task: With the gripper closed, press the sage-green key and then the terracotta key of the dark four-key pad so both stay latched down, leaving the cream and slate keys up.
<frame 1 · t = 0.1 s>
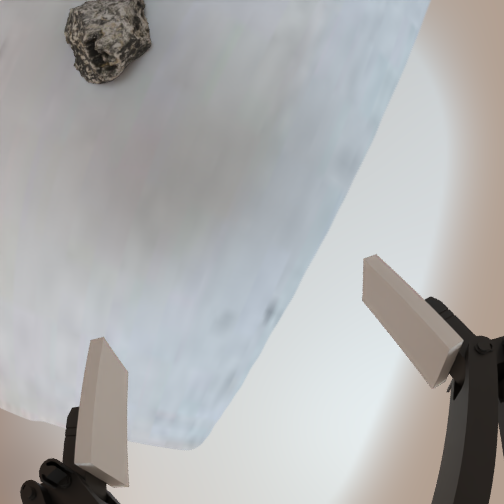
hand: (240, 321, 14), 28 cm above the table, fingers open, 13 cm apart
rock: (112, 35, 27), on the table
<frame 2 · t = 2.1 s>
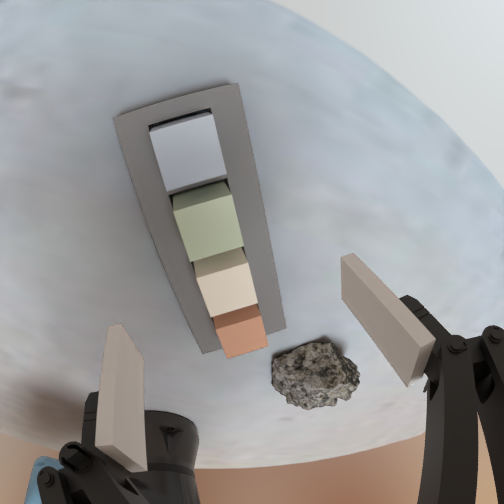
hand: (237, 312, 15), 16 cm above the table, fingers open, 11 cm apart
keypad: (210, 229, 30), on the table
key slate: (187, 148, 22), point 4 cm above the table, slide at 0.0 cm
key sage: (207, 219, 25), point 4 cm above the table, slide at 0.0 cm
rock: (305, 360, 44), on the table
key cream: (224, 278, 28), point 4 cm above the table, slide at 0.0 cm
key terracotta: (239, 325, 31), point 4 cm above the table, slide at 0.0 cm
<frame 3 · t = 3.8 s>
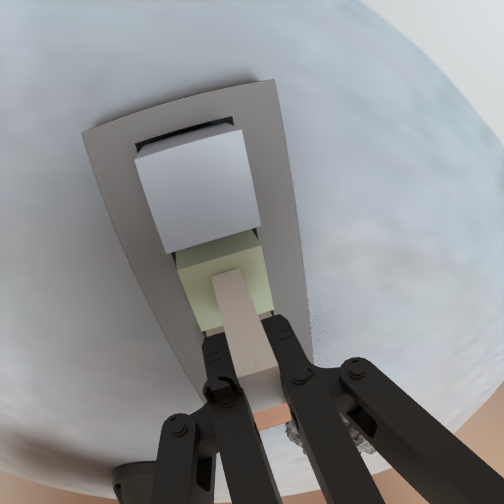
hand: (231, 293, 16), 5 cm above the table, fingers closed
keypad: (225, 282, 22), on the table
key slate: (197, 181, 14), point 4 cm above the table, slide at 0.0 cm
key sage: (223, 272, 18), point 3 cm above the table, slide at 1.1 cm, touching gripper
rock: (324, 408, 36), on the table
key cream: (247, 351, 20), point 4 cm above the table, slide at 0.0 cm
key terracotta: (262, 396, 23), point 4 cm above the table, slide at 0.0 cm
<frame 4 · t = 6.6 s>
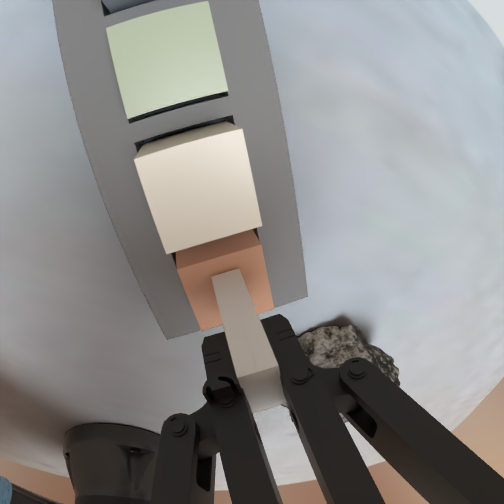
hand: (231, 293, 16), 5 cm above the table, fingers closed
keypad: (179, 115, 16), on the table
key sage: (167, 61, 12), point 3 cm above the table, slide at 1.3 cm
rock: (315, 354, 30), on the table
key cream: (197, 181, 14), point 4 cm above the table, slide at 0.0 cm
key terracotta: (223, 271, 18), point 3 cm above the table, slide at 1.2 cm
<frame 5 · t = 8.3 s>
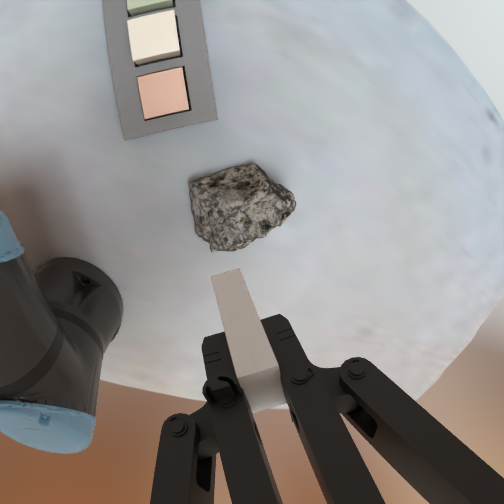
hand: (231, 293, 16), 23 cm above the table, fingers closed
keypad: (154, 22, 25), on the table
rock: (234, 201, 39), on the table
key cream: (154, 38, 23), point 4 cm above the table, slide at 0.0 cm
key terracotta: (164, 93, 28), point 3 cm above the table, slide at 1.3 cm
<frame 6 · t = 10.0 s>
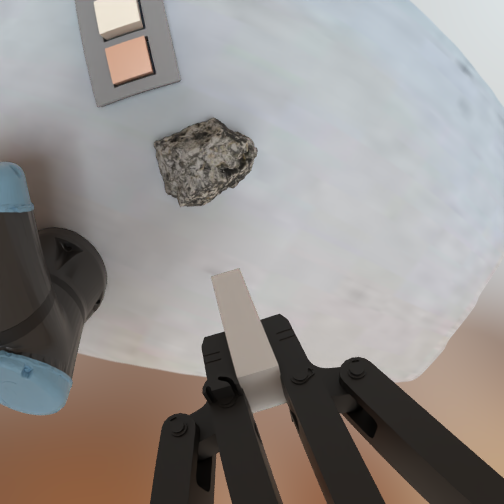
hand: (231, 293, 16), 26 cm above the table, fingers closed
keypad: (120, 3, 25), on the table
rock: (200, 157, 38), on the table
key cream: (119, 14, 23), point 4 cm above the table, slide at 0.0 cm
key terracotta: (130, 61, 28), point 3 cm above the table, slide at 1.3 cm
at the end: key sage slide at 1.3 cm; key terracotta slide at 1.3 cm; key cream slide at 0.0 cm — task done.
